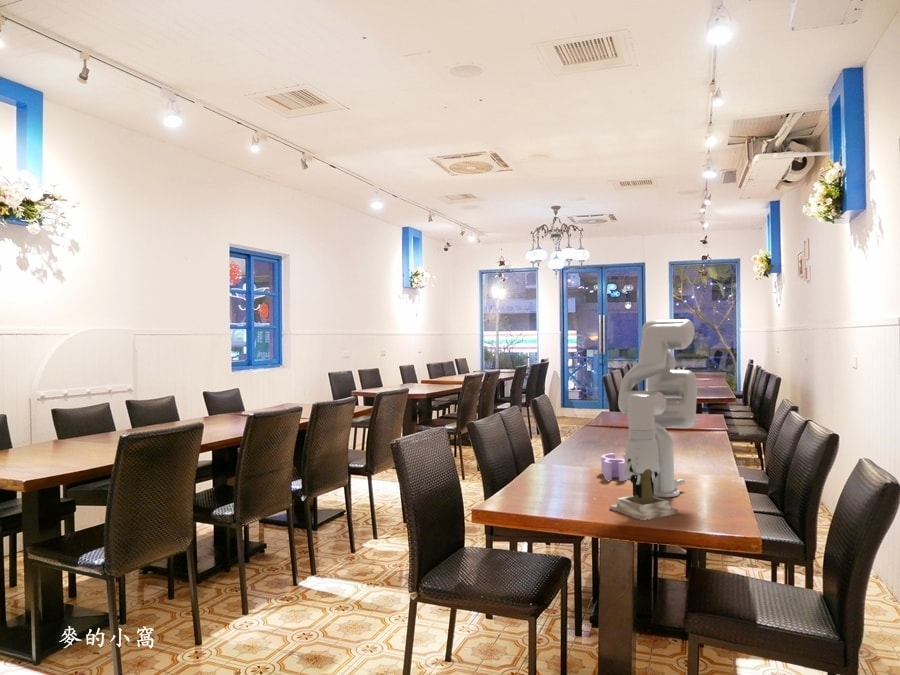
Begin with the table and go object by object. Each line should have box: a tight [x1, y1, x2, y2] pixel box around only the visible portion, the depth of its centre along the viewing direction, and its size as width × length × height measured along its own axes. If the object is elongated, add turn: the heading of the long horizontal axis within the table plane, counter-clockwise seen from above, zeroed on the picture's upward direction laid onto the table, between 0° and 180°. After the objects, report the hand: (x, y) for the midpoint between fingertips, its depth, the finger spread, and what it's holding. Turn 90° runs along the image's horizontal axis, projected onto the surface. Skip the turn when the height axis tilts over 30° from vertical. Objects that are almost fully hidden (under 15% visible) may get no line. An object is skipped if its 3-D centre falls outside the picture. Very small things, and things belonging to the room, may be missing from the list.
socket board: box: [609, 495, 679, 521], centre depth 192 cm, size 14×14×4 cm
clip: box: [600, 452, 632, 482], centre depth 241 cm, size 20×12×7 cm, turn 160°
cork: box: [633, 469, 654, 505], centre depth 192 cm, size 6×6×11 cm
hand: (643, 495), depth 192 cm, fingers closed on cork, 4 cm apart
